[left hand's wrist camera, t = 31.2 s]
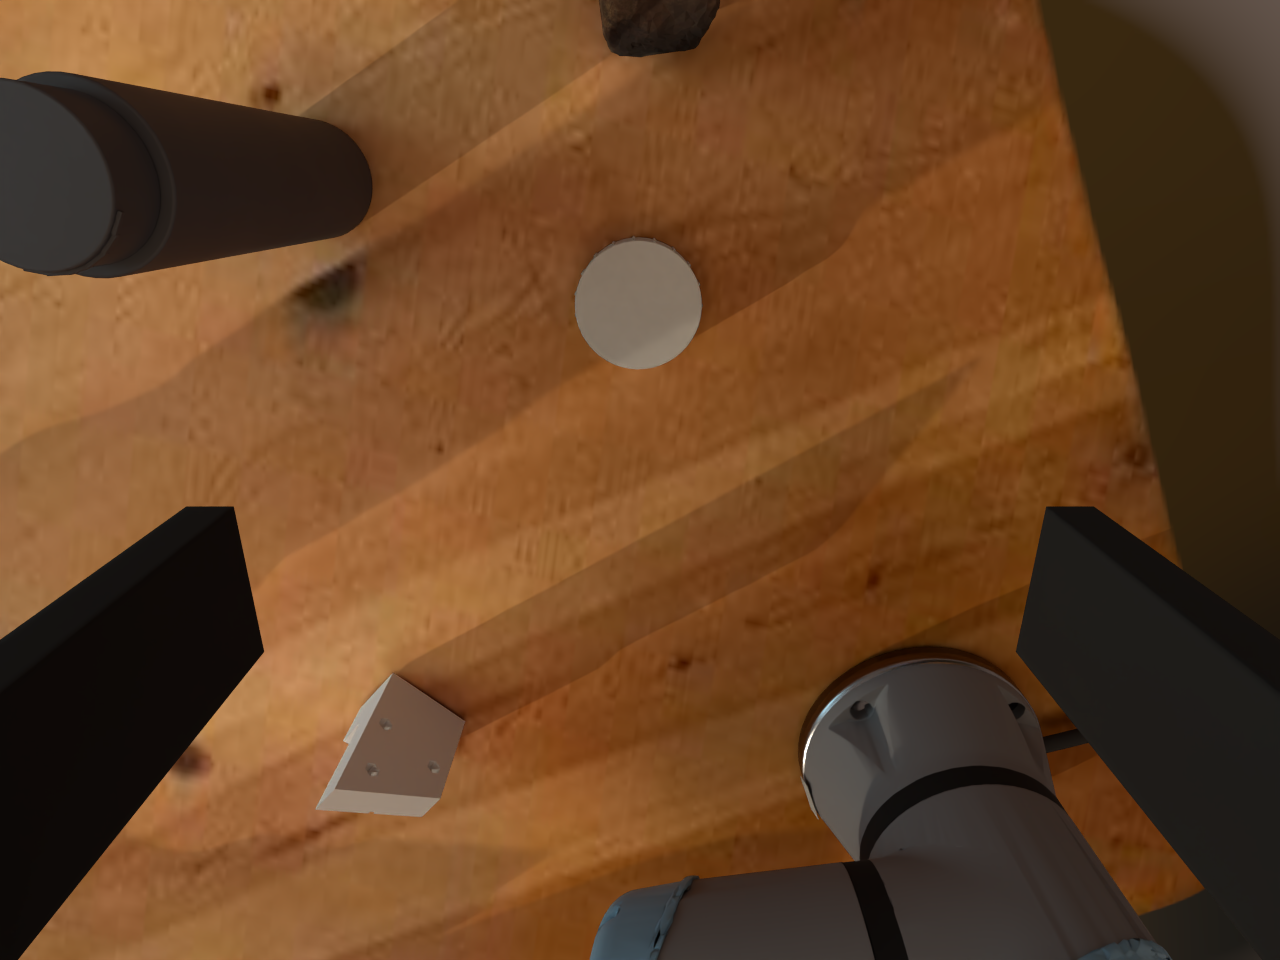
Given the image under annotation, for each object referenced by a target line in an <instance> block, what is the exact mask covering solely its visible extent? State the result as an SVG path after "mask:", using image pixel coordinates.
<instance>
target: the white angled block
mask: <svg viewBox="0 0 1280 960" xmlns="http://www.w3.org/2000/svg"><path fill="white" fill-rule="evenodd" d="M464 724H465V721H464V720H463V719H461V718H460V717H458V716H457V715H455V714H454V713H452V712H451V711H449V710H448V709H446V708H445V707H443V706H442V705H440V704H439V703H437V702H436V701H434V700H433V699H432V698H430V697H429V696H427V695H426V694H424V693H423V692H421V691H420V690H418V689H417V688H415V687H414V686H412V685H411V684H409V683H408V682H406V681H405V680H403V679H402V678H401V677H399V676H398V675H396V674H395V673H392V674H391V675H390V676H389V677H388V679H387V680H386V681H385V682H384V683H383V684H382V685H381V686H380V687H379V688H378V689H377V690H376V692H375V693H374V694H373V695H372V696H371V697H370V698H369V699H368V700H367V701H366V702H365V704H364V705H363V706H362V707H361V708H360V710H359V712H358V714H357V716H356V717H355V719H354V721H353V723H352V725H351V727H350V729H349V731H348V733H347V734H346V736H345V738H344V740H343V741H345V742H346V743H348V744H349V745H348V747H347V749H346V751H345V753H344V755H343V756H342V758H341V760H340V762H339V764H338V766H337V768H336V770H335V772H334V774H333V776H332V778H331V780H330V782H329V784H328V786H327V787H326V789H325V791H324V793H323V795H322V797H321V799H320V801H319V803H318V805H317V807H316V809H315V810H328V811H343V812H358V813H369V812H374V814H387V815H401V816H416V817H422V816H423V815H424V814H425V813H426V812H427V811H428V810H429V809H430V808H431V807H432V806H433V805H434V804H435V803H436V802H437V801H438V800H439V799H440V798H441V795H442V792H443V789H444V786H445V783H446V780H447V776H448V773H449V770H450V767H451V764H452V761H453V758H454V755H455V752H456V749H457V745H458V742H459V739H460V736H461V733H462V730H463V727H464Z"/></svg>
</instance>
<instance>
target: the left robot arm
mask: <svg viewBox="0 0 1280 960" xmlns="http://www.w3.org/2000/svg"><path fill="white" fill-rule="evenodd" d="M263 652H264V649H263V644H262V639H261V635H260V630H259V625H258V620H257V616H256V611H255V606H254V601H253V596H252V592H251V587H250V582H249V577H248V573H247V568H246V563H245V558H244V553H243V549H242V544H241V539H240V534H239V530H238V525H237V520H236V515H235V510H234V507H185V508H184V509H182V510H181V511H179V512H178V513H177V514H175V515H174V516H172V517H171V518H170V519H168V520H167V521H165V522H164V523H163V524H161V525H160V526H158V527H157V528H156V529H154V530H153V531H151V532H150V533H149V534H147V535H146V536H145V537H143V538H142V539H140V540H139V541H138V542H136V543H135V544H133V545H132V546H131V547H129V548H128V549H126V550H125V551H124V552H122V553H121V554H119V555H118V556H117V557H115V558H114V559H112V560H111V561H110V562H108V563H107V564H105V565H104V566H103V567H101V568H100V569H98V570H97V571H96V572H94V573H93V574H91V575H90V576H89V577H87V578H86V579H84V580H83V581H82V582H80V583H79V584H77V585H76V586H75V587H73V588H72V589H71V590H69V591H68V592H66V593H65V594H64V595H62V596H61V597H59V598H58V599H57V600H55V601H54V602H52V603H51V604H50V605H48V606H47V607H45V608H44V609H43V610H41V611H40V612H38V613H37V614H36V615H34V616H33V617H31V618H30V619H29V620H27V621H26V622H24V623H23V624H22V625H20V626H19V627H17V628H16V629H15V630H13V631H12V632H10V633H9V634H8V635H6V636H5V637H4V638H2V639H1V640H0V960H18V959H19V958H20V956H21V955H22V954H23V953H24V951H25V950H26V949H27V948H28V946H29V945H30V944H31V943H32V941H33V940H34V939H35V938H36V936H37V935H38V934H39V933H40V931H41V930H42V929H43V928H44V926H45V925H46V924H47V923H48V921H49V920H50V919H51V918H52V916H53V915H54V914H55V913H56V911H57V910H58V909H59V908H60V906H61V905H62V904H63V903H64V901H65V900H66V899H67V898H68V896H69V895H70V894H71V893H72V891H73V890H74V889H75V888H76V886H77V885H78V884H79V883H80V881H81V880H82V879H83V878H84V876H85V875H86V874H87V873H88V871H89V870H90V869H91V868H92V866H93V865H94V864H95V863H96V861H97V860H98V859H99V858H100V856H101V855H102V854H103V853H104V851H105V850H106V849H107V848H108V846H109V845H110V844H111V843H112V841H113V840H114V839H115V838H116V836H117V835H118V834H119V833H120V831H121V830H122V829H123V828H124V826H125V825H126V824H127V823H128V821H129V820H130V819H131V818H132V816H133V815H134V814H135V813H136V811H137V810H138V809H139V808H140V806H141V805H142V804H143V803H144V801H145V800H146V799H147V798H148V796H149V795H150V794H151V793H152V791H153V790H154V789H155V788H156V786H157V785H158V784H159V783H160V781H161V780H162V779H163V778H164V776H165V775H166V774H167V773H168V771H169V770H170V769H171V768H172V766H173V765H174V764H175V763H176V761H177V760H178V759H179V758H180V756H181V755H182V754H183V753H184V751H185V750H186V749H187V748H188V746H189V745H190V744H191V743H192V741H193V740H194V739H195V738H196V736H197V735H198V734H199V733H200V731H201V730H202V729H203V728H204V726H205V725H206V724H207V723H208V721H209V720H210V719H211V718H212V716H213V715H214V714H215V713H216V711H217V710H218V709H219V708H220V706H221V705H222V704H223V703H224V701H225V700H226V699H227V698H228V696H229V695H230V694H231V693H232V691H233V690H234V689H235V688H236V686H237V685H238V684H239V683H240V681H241V680H242V679H243V678H244V676H245V675H246V674H247V673H248V671H249V670H250V669H251V668H252V666H253V665H254V664H255V663H256V661H257V660H258V659H259V657H260V656H261V655H262V654H263ZM1016 652H1017V654H1018V655H1019V656H1020V657H1021V659H1022V660H1023V661H1024V663H1025V664H1026V665H1027V666H1028V668H1029V669H1030V670H1031V671H1032V673H1033V674H1034V675H1035V676H1036V678H1037V679H1038V680H1039V681H1040V683H1041V684H1042V685H1043V686H1044V688H1045V689H1046V690H1047V691H1048V693H1049V694H1050V695H1051V696H1052V698H1053V699H1054V700H1055V701H1056V703H1057V704H1058V705H1059V706H1060V708H1061V709H1062V710H1063V711H1064V713H1065V714H1066V715H1067V716H1068V718H1069V719H1070V720H1071V721H1072V723H1073V724H1074V725H1075V726H1076V728H1077V729H1074V730H1070V731H1066V732H1062V733H1058V734H1053V735H1049V736H1045V737H1042V733H1041V729H1040V725H1039V722H1038V719H1037V717H1036V715H1035V713H1034V710H1033V709H1032V707H1031V706H1030V704H1029V702H1028V701H1027V700H1026V698H1025V697H1024V696H1023V694H1022V693H1021V692H1020V690H1019V689H1018V688H1017V686H1016V685H1015V684H1014V683H1013V681H1012V680H1011V679H1010V678H1009V677H1008V676H1007V675H1006V674H1005V673H1004V672H1003V671H1002V670H1000V669H999V668H998V667H996V666H995V665H993V664H992V663H990V662H988V661H986V660H985V659H982V658H980V657H978V656H976V655H973V654H970V653H967V652H964V651H959V650H955V649H949V648H942V647H916V648H908V649H902V650H897V651H893V652H889V653H886V654H882V655H879V656H877V657H874V658H871V659H869V660H867V661H865V662H863V663H861V664H859V665H857V666H855V667H854V668H852V669H850V670H849V671H847V672H846V673H844V674H843V675H841V676H840V677H839V678H838V679H836V680H835V681H834V682H833V683H832V684H831V685H830V686H829V687H828V688H827V689H825V690H824V692H823V693H822V694H821V695H820V696H819V698H818V699H817V700H816V702H815V703H814V704H813V706H812V707H811V709H810V711H809V713H808V715H807V716H806V719H805V721H804V724H803V726H802V730H801V733H800V738H799V745H798V757H799V765H800V770H801V773H802V777H803V779H802V778H801V780H802V783H803V786H804V789H805V792H806V795H807V798H808V801H809V804H810V807H811V809H812V811H813V812H814V814H815V815H816V817H817V818H818V816H817V813H818V814H819V815H820V817H821V818H822V819H823V821H824V822H825V823H826V824H827V826H828V827H829V828H830V829H831V831H832V832H833V833H834V835H835V836H836V837H837V839H838V840H839V841H840V843H841V844H842V845H843V846H844V848H845V849H846V850H847V852H848V853H849V854H850V855H851V857H852V858H853V859H854V860H855V861H852V862H844V863H843V862H839V863H831V864H823V865H814V866H806V867H797V868H789V869H780V870H772V871H764V872H755V873H747V874H738V875H730V876H721V877H713V878H704V879H700V878H699V876H688V877H685V878H684V879H683V880H682V881H680V882H674V883H669V884H664V885H658V886H653V887H647V888H642V889H636V890H632V891H629V892H627V893H625V894H623V895H622V896H620V897H619V898H618V899H617V900H616V901H614V902H613V903H612V905H611V906H610V907H609V909H608V910H607V912H606V913H605V915H604V917H603V919H602V922H601V924H600V926H599V929H598V932H597V935H596V937H595V941H594V944H593V948H592V952H591V956H590V960H1172V959H1171V957H1170V956H1169V954H1168V953H1167V951H1166V950H1165V949H1164V948H1163V947H1162V946H1160V945H1158V944H1157V943H1156V941H1155V940H1154V939H1153V937H1152V936H1151V934H1150V933H1149V931H1148V930H1147V928H1146V927H1145V926H1144V924H1143V923H1142V921H1141V920H1140V918H1139V917H1138V915H1137V914H1136V912H1135V911H1134V909H1133V908H1132V907H1131V905H1130V904H1129V902H1128V901H1127V899H1126V898H1125V896H1124V895H1123V893H1122V892H1121V891H1120V889H1119V888H1118V886H1117V885H1116V883H1115V882H1114V880H1113V879H1112V877H1111V876H1110V875H1109V873H1108V872H1107V870H1106V869H1105V867H1104V866H1103V864H1102V863H1101V861H1100V860H1099V859H1098V857H1097V856H1096V854H1095V853H1094V851H1093V850H1092V848H1091V847H1090V845H1089V844H1088V843H1087V841H1086V840H1085V838H1084V837H1083V835H1082V834H1081V832H1080V831H1079V829H1078V828H1077V827H1076V825H1075V824H1074V822H1073V821H1072V819H1071V818H1070V817H1069V816H1068V814H1067V813H1066V811H1065V810H1064V808H1063V807H1062V805H1061V804H1060V802H1059V801H1058V799H1057V797H1056V795H1055V790H1054V786H1053V781H1052V777H1051V772H1050V768H1049V764H1048V759H1047V755H1046V753H1049V752H1053V751H1057V750H1061V749H1065V748H1069V747H1073V746H1077V745H1081V744H1085V743H1089V744H1090V745H1091V746H1092V748H1093V749H1094V750H1095V751H1096V753H1097V754H1098V755H1099V756H1100V758H1101V759H1102V760H1103V761H1104V763H1105V764H1106V765H1107V766H1108V768H1109V769H1110V770H1111V771H1112V773H1113V774H1114V775H1115V776H1116V778H1117V779H1118V780H1119V781H1120V783H1121V784H1122V785H1123V786H1124V788H1125V789H1126V790H1127V791H1128V793H1129V794H1130V795H1131V796H1132V798H1133V799H1134V800H1135V801H1136V803H1137V804H1138V805H1139V806H1140V808H1141V809H1142V810H1143V811H1144V813H1145V814H1146V815H1147V816H1148V818H1149V819H1150V820H1151V821H1152V823H1153V824H1154V825H1155V826H1156V828H1157V829H1158V830H1159V831H1160V833H1161V834H1162V835H1163V836H1164V838H1165V839H1166V840H1167V841H1168V843H1169V844H1170V845H1171V846H1172V848H1173V849H1174V850H1175V851H1176V853H1177V854H1178V855H1179V856H1180V858H1181V859H1182V860H1183V861H1184V863H1185V864H1186V865H1187V866H1188V868H1189V869H1190V870H1191V871H1192V873H1193V874H1194V875H1195V876H1196V878H1197V879H1198V880H1199V881H1200V883H1201V884H1202V885H1203V886H1204V888H1205V889H1206V890H1207V891H1208V893H1209V894H1210V895H1211V896H1212V898H1213V899H1214V900H1215V901H1216V903H1217V904H1218V905H1219V906H1220V908H1221V909H1222V910H1223V911H1224V913H1225V914H1226V915H1227V916H1228V918H1229V919H1230V920H1231V921H1232V923H1233V924H1234V925H1235V926H1236V928H1237V929H1238V930H1239V931H1240V933H1241V934H1242V935H1243V936H1244V938H1245V939H1246V940H1247V941H1248V943H1249V944H1250V945H1251V946H1252V948H1253V949H1254V950H1255V951H1256V953H1257V954H1258V955H1259V956H1260V958H1261V959H1262V960H1280V640H1279V639H1278V638H1276V637H1275V636H1274V635H1272V634H1271V633H1269V632H1268V631H1267V630H1265V629H1264V628H1263V627H1261V626H1260V625H1258V624H1257V623H1256V622H1254V621H1253V620H1251V619H1250V618H1248V617H1247V616H1246V615H1244V614H1243V613H1242V612H1240V611H1239V610H1237V609H1236V608H1235V607H1233V606H1232V605H1230V604H1229V603H1228V602H1226V601H1225V600H1223V599H1222V598H1221V597H1219V596H1218V595H1216V594H1215V593H1214V592H1212V591H1211V590H1209V589H1208V588H1207V587H1205V586H1204V585H1203V584H1201V583H1200V582H1198V581H1197V580H1195V579H1194V578H1193V577H1191V576H1190V575H1189V574H1187V573H1186V572H1184V571H1183V570H1182V569H1180V568H1179V567H1177V566H1176V565H1175V564H1173V563H1172V562H1170V561H1169V560H1168V559H1166V558H1165V557H1163V556H1162V555H1161V554H1159V553H1158V552H1156V551H1155V550H1154V549H1152V548H1151V547H1149V546H1148V545H1147V544H1145V543H1144V542H1142V541H1141V540H1140V539H1138V538H1137V537H1135V536H1134V535H1133V534H1131V533H1130V532H1129V531H1127V530H1126V529H1124V528H1123V527H1122V526H1120V525H1119V524H1117V523H1116V522H1115V521H1113V520H1112V519H1110V518H1109V517H1108V516H1106V515H1105V514H1103V513H1102V512H1101V511H1099V510H1098V509H1096V508H1095V507H1046V510H1045V515H1044V520H1043V525H1042V530H1041V534H1040V539H1039V544H1038V549H1037V553H1036V558H1035V563H1034V568H1033V573H1032V577H1031V582H1030V587H1029V592H1028V596H1027V601H1026V606H1025V611H1024V615H1023V620H1022V625H1021V630H1020V635H1019V639H1018V644H1017V649H1016ZM800 777H801V776H800ZM815 810H816V811H817V813H816V811H815ZM818 820H819V819H818Z"/></svg>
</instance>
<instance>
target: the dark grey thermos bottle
mask: <svg viewBox="0 0 1280 960" xmlns="http://www.w3.org/2000/svg"><path fill="white" fill-rule="evenodd" d="M371 196H372V179H371V174H370V169H369V167H368V164H367V161H366V159H365V157H364V155H363V153H362V152H361V150H360V149H359V147H358V146H357V145H356V143H355V142H354V141H353V140H352V139H351V138H350V137H349V136H348V135H347V134H345V133H344V132H343V131H342V130H340V129H338V128H337V127H335V126H333V125H331V124H329V123H326V122H323V121H319V120H314V119H309V118H303V117H298V116H293V115H288V114H282V113H277V112H272V111H267V110H261V109H256V108H251V107H246V106H240V105H235V104H230V103H225V102H219V101H214V100H209V99H204V98H198V97H193V96H188V95H183V94H177V93H172V92H167V91H162V90H156V89H151V88H146V87H141V86H135V85H130V84H125V83H120V82H114V81H109V80H104V79H99V78H93V77H88V76H83V75H78V74H72V73H66V72H49V71H47V72H40V73H34V74H30V75H27V76H24V77H22V78H20V79H18V80H12V79H6V78H0V260H1V261H3V262H5V263H8V264H10V265H13V266H15V267H18V268H22V269H23V270H24V271H28V272H33V273H38V274H43V275H47V276H57V275H73V274H78V275H81V276H86V277H93V278H114V277H121V276H127V275H132V274H138V273H143V272H149V271H154V270H160V269H165V268H170V267H176V266H181V265H187V264H192V263H198V262H203V261H209V260H214V259H220V258H225V257H231V256H236V255H242V254H247V253H252V252H258V251H263V250H269V249H274V248H280V247H285V246H291V245H296V244H302V243H307V242H313V241H318V240H323V239H329V238H334V237H338V236H341V235H344V234H346V233H348V232H349V231H351V230H353V229H354V228H355V227H356V226H357V225H358V224H359V223H360V222H361V221H362V219H363V218H364V216H365V215H366V213H367V210H368V208H369V205H370V202H371Z"/></svg>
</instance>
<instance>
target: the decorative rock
mask: <svg viewBox="0 0 1280 960" xmlns="http://www.w3.org/2000/svg"><path fill="white" fill-rule="evenodd" d="M599 4H600V12H601V19H602V28H603V35H604V38H605V40H606V41H607V44H608V47H609V49H610V51H611V52H613V53H616V54H618V55H619V56H633V57H643V56H648V55H655V54H662V53H669V52H676V51H686V50H690V49H694V48H696V47H697V46H698V45H699V43H700V40H701V38H702V37H703V36H704V34H705V33H706V31H707V30H708V29H709V26H710V24H711V22H712V20H713V19H714V18H715V16H716V12H717V10H718V8H719V4H720V0H599Z"/></svg>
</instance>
